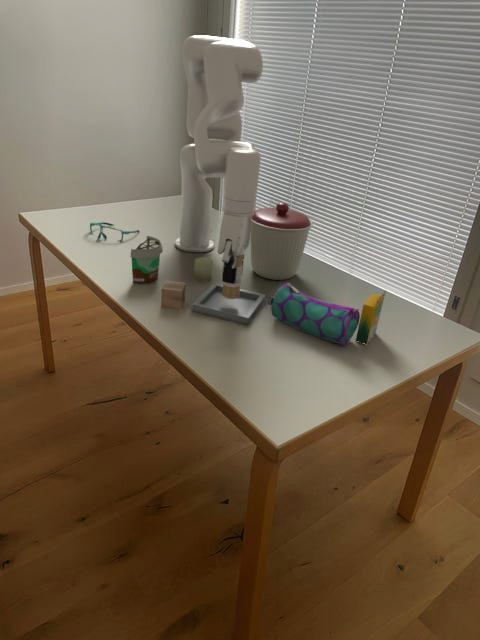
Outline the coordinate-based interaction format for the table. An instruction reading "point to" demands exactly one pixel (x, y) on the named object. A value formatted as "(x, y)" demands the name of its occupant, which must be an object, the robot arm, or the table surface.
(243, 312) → the slate tray
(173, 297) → the brown wooden cube
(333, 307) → the pencil case
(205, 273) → the olive cylinder
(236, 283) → the sprinkles bottle
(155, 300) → the table surface
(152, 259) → the food container
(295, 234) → the canister
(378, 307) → the crayon box
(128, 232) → the teal glasses
